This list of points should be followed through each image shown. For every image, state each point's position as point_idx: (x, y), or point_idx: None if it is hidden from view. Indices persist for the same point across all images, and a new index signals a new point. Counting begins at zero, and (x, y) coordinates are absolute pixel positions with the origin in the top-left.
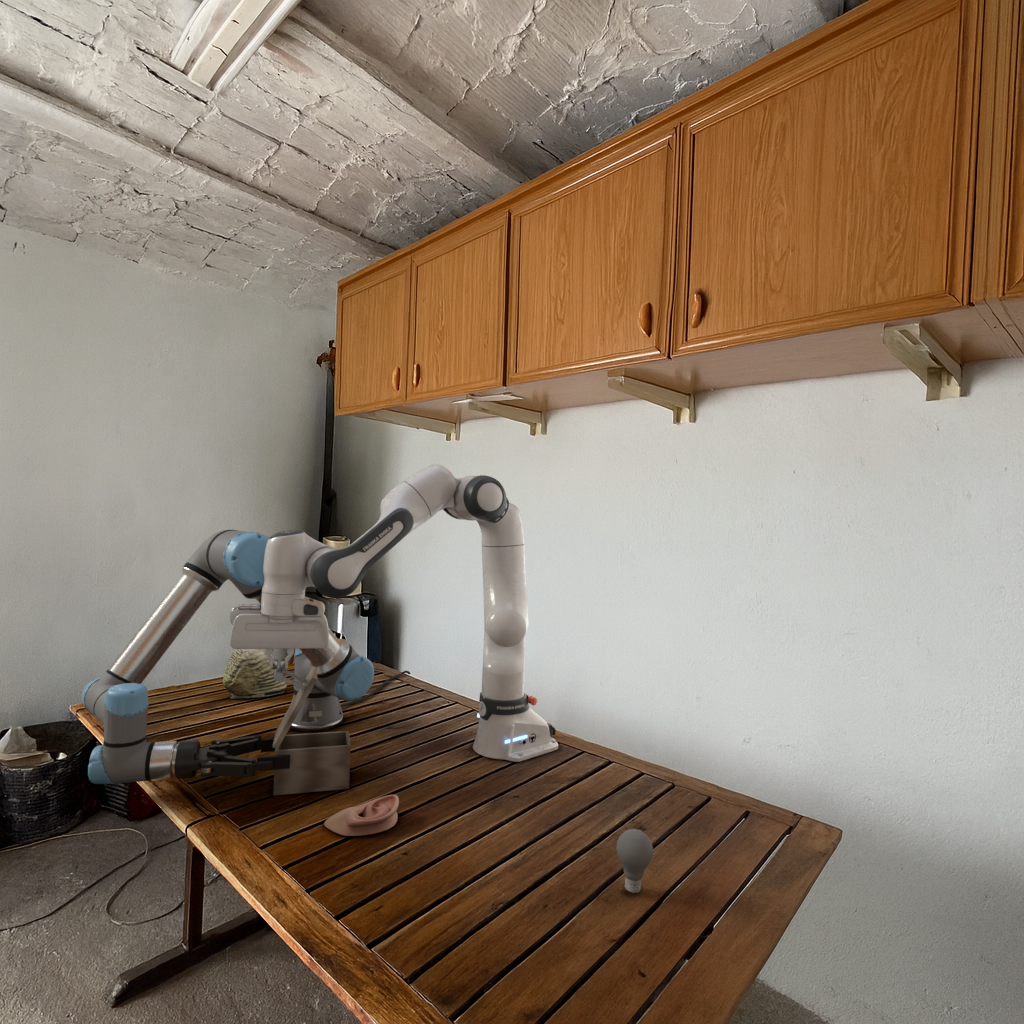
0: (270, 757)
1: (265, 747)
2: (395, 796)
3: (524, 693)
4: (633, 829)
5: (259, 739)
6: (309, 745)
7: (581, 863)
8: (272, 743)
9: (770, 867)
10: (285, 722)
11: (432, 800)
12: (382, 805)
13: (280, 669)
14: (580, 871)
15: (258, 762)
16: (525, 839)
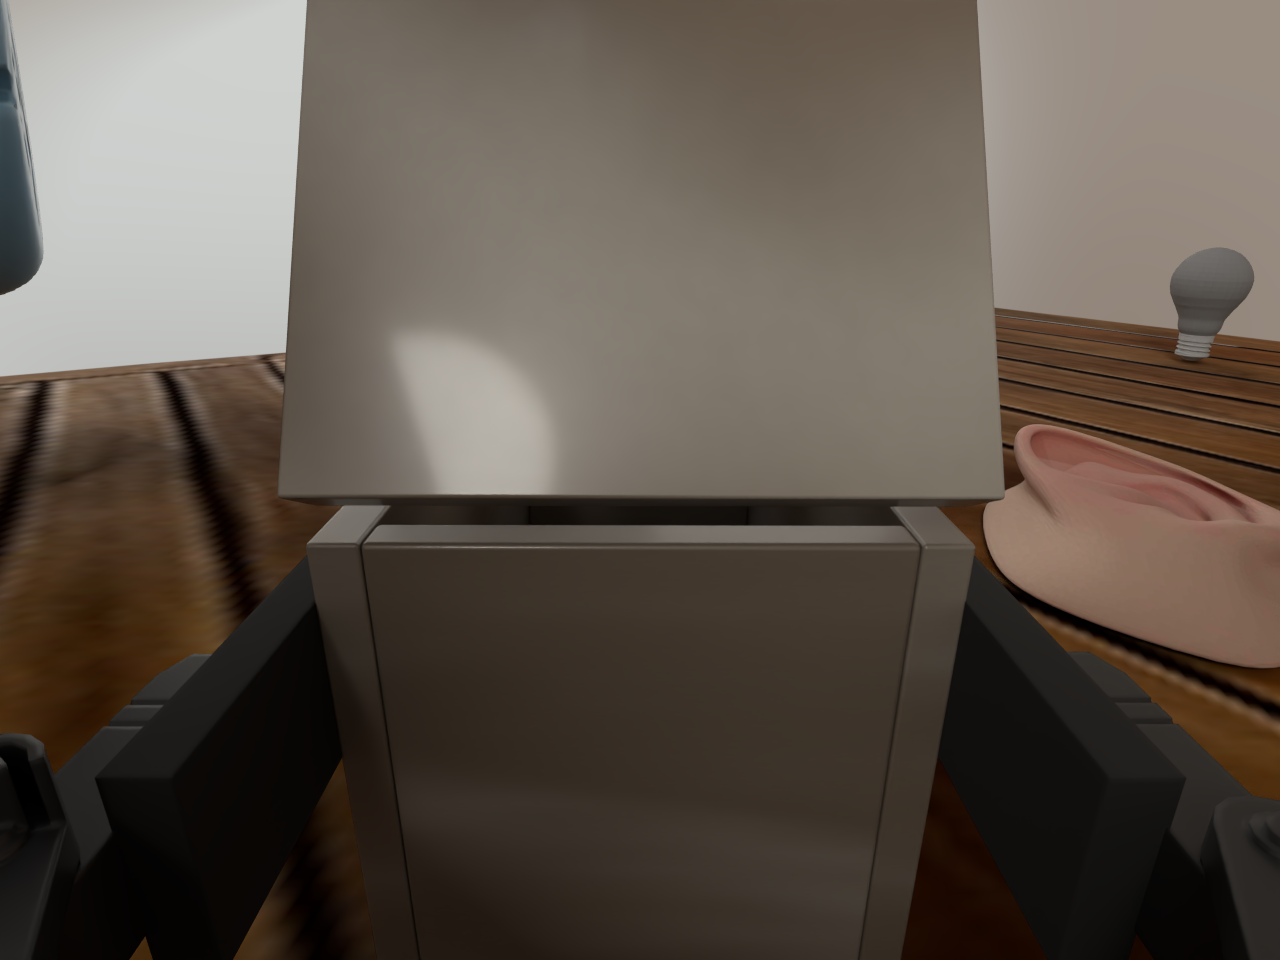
0: (1046, 637)
1: (249, 835)
2: (1042, 426)
3: None
4: (1209, 249)
5: (39, 829)
6: (477, 514)
7: (1120, 373)
8: (292, 701)
9: (1030, 318)
10: (862, 118)
11: None
12: (1075, 473)
13: None
14: (1155, 376)
15: (1222, 800)
16: (1053, 394)
